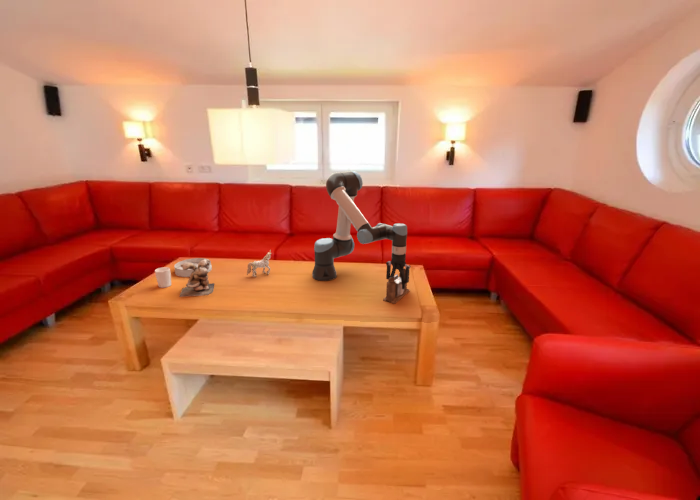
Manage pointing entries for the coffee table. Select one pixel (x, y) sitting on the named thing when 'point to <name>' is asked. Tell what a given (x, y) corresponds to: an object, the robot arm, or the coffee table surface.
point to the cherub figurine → (197, 280)
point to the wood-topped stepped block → (397, 285)
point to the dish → (187, 273)
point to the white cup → (163, 277)
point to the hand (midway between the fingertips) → (396, 292)
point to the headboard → (391, 290)
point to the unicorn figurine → (259, 265)
